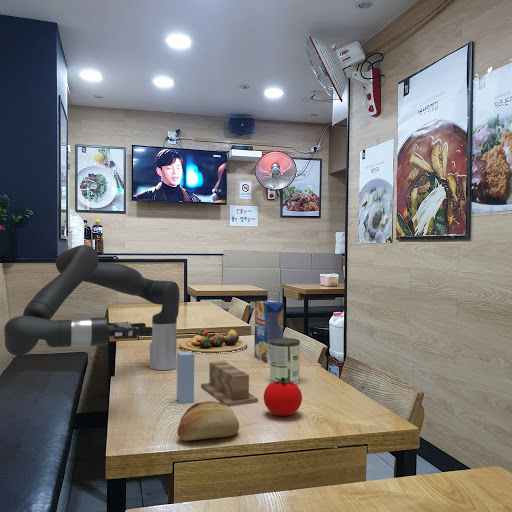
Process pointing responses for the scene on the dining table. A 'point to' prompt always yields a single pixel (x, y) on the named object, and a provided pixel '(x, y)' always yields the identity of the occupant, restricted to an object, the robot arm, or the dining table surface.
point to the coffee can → (284, 359)
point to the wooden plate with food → (213, 342)
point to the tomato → (282, 397)
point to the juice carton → (267, 327)
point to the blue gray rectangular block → (185, 377)
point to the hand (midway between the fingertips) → (148, 328)
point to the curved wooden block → (228, 384)
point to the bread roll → (208, 421)
